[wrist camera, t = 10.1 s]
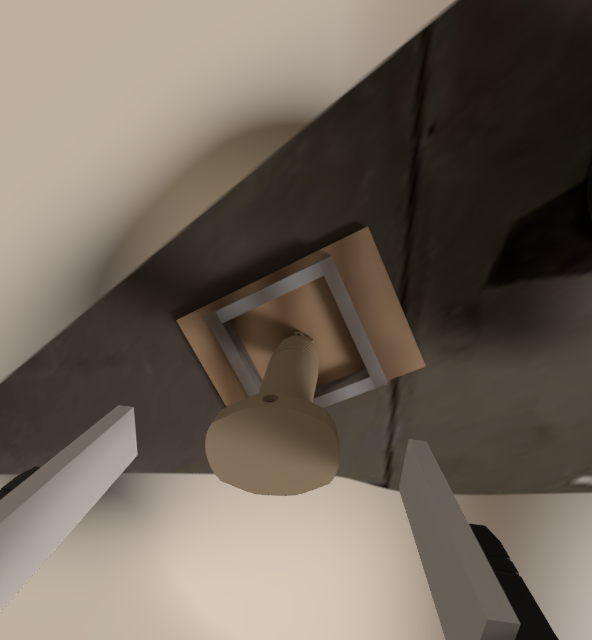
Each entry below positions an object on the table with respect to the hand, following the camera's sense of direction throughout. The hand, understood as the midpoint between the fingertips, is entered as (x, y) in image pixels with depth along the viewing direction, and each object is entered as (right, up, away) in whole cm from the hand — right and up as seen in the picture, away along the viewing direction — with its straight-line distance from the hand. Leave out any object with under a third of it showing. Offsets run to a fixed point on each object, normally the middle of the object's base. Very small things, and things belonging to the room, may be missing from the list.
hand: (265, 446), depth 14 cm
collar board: (+2, +4, +15) cm, 16 cm away
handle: (+2, +4, +15) cm, 15 cm away
